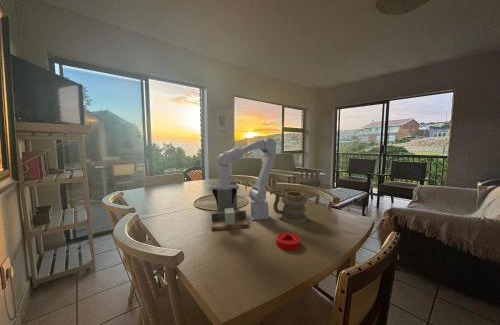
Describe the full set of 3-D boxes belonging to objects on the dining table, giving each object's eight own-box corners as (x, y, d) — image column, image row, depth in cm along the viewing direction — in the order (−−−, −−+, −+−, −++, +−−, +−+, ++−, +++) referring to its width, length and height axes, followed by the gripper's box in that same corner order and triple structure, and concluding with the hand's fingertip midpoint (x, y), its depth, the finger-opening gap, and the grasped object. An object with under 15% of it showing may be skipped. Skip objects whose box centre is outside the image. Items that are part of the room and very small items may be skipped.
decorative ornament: (299, 252, 77) (299, 244, 77) (274, 249, 80) (274, 241, 80) (300, 240, 86) (300, 233, 86) (278, 237, 89) (278, 230, 89)
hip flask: (220, 216, 115) (219, 181, 113) (215, 214, 117) (213, 180, 115) (238, 208, 127) (237, 177, 125) (233, 207, 130) (232, 176, 128)
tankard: (307, 216, 113) (308, 190, 111) (303, 225, 101) (304, 196, 100) (273, 211, 121) (273, 187, 120) (266, 219, 110) (266, 192, 108)
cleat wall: (245, 219, 110) (245, 210, 109) (248, 226, 100) (248, 217, 99) (211, 222, 106) (211, 212, 106) (211, 230, 97) (211, 220, 96)
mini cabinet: (233, 218, 106) (233, 207, 106) (235, 224, 99) (234, 213, 98) (224, 219, 106) (224, 208, 105) (225, 225, 98) (225, 213, 97)
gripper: (209, 179, 97) (210, 206, 99) (239, 178, 100) (239, 204, 102) (209, 176, 104) (210, 202, 106) (237, 175, 107) (238, 200, 108)
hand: (224, 203), depth 104 cm, fingers open, 7 cm apart
